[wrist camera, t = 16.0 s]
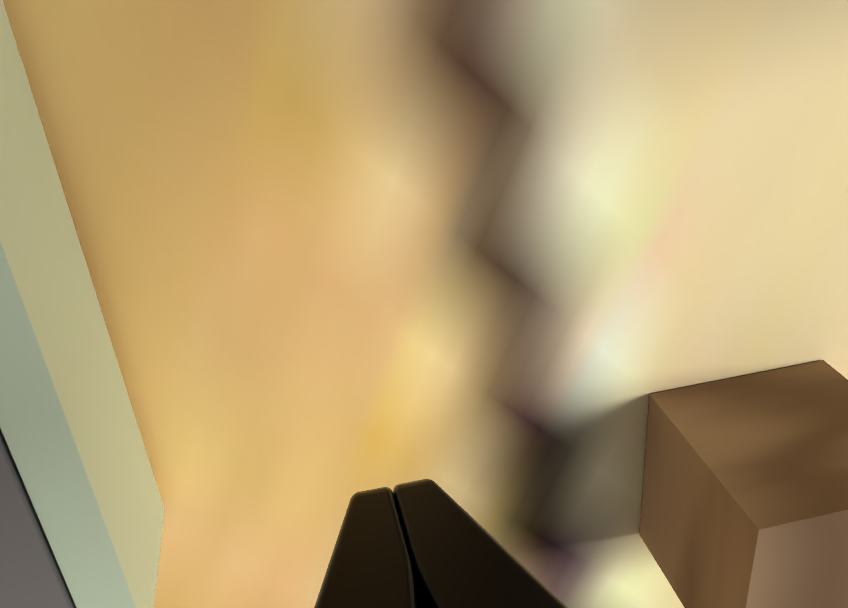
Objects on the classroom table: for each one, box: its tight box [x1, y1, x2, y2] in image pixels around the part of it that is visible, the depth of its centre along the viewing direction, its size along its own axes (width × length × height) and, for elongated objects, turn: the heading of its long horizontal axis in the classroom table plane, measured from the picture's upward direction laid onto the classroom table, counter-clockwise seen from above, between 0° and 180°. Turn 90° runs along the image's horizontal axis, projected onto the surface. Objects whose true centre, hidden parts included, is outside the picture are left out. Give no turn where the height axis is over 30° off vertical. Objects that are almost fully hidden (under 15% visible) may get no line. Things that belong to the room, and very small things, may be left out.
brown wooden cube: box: [640, 360, 848, 608], centre depth 20 cm, size 5×5×5 cm
